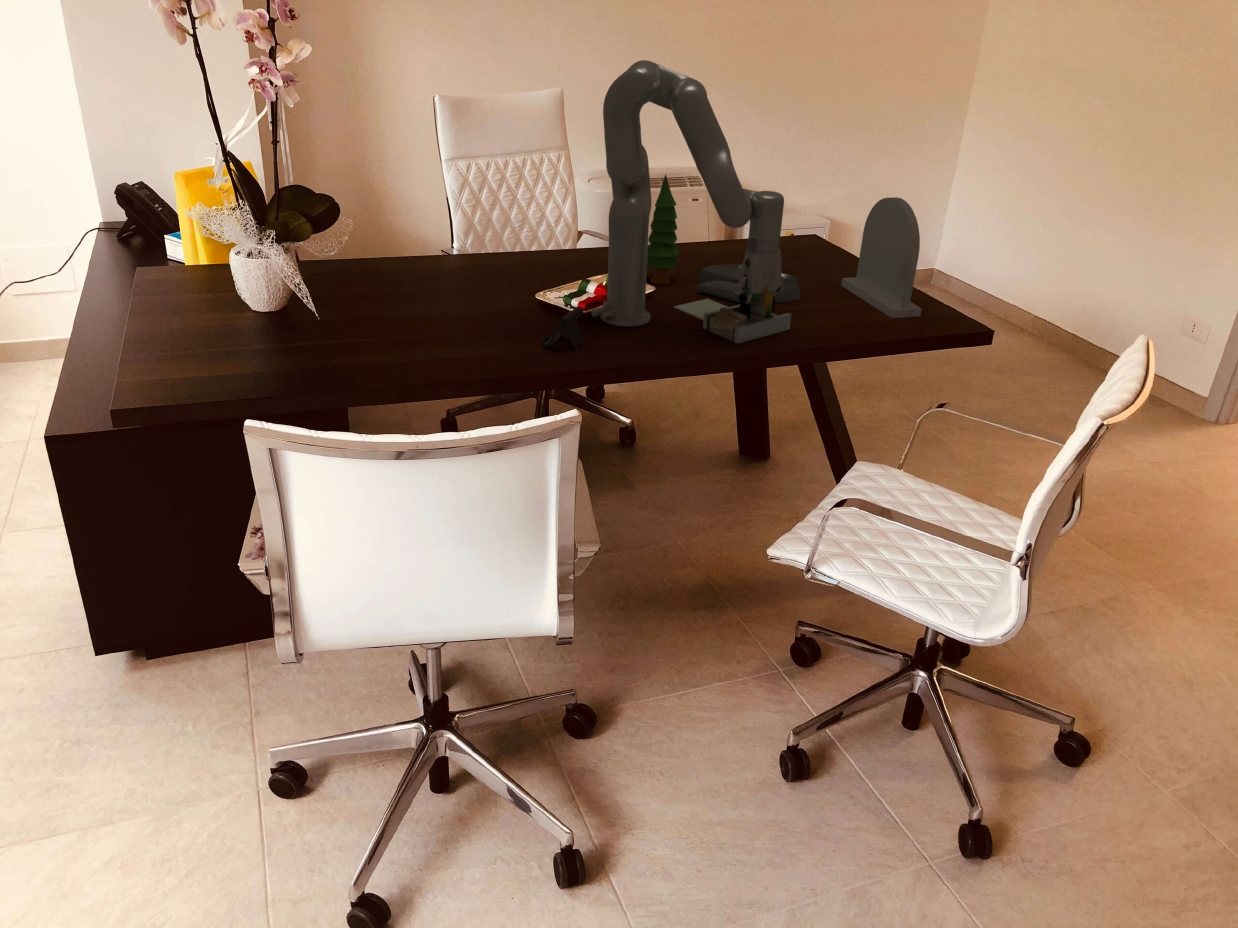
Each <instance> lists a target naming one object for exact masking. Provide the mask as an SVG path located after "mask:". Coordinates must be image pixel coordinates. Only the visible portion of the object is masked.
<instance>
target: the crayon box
mask: <svg viewBox="0 0 1238 928" xmlns="http://www.w3.org/2000/svg"><path fill="white" fill-rule="evenodd" d="M767 288H768V287H767V286H765V289H764V293H761V294H753V296H752V298H751V300H750V302H749V303H750V304H751V311H750V318H749V319H747V323H751V322H755V321H759V320H763V319H766V318H770V317H771V310H772V301H773V292H771V291H769V292H767ZM747 295H748V293H746V295H745V296H746V297H747Z"/></svg>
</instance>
